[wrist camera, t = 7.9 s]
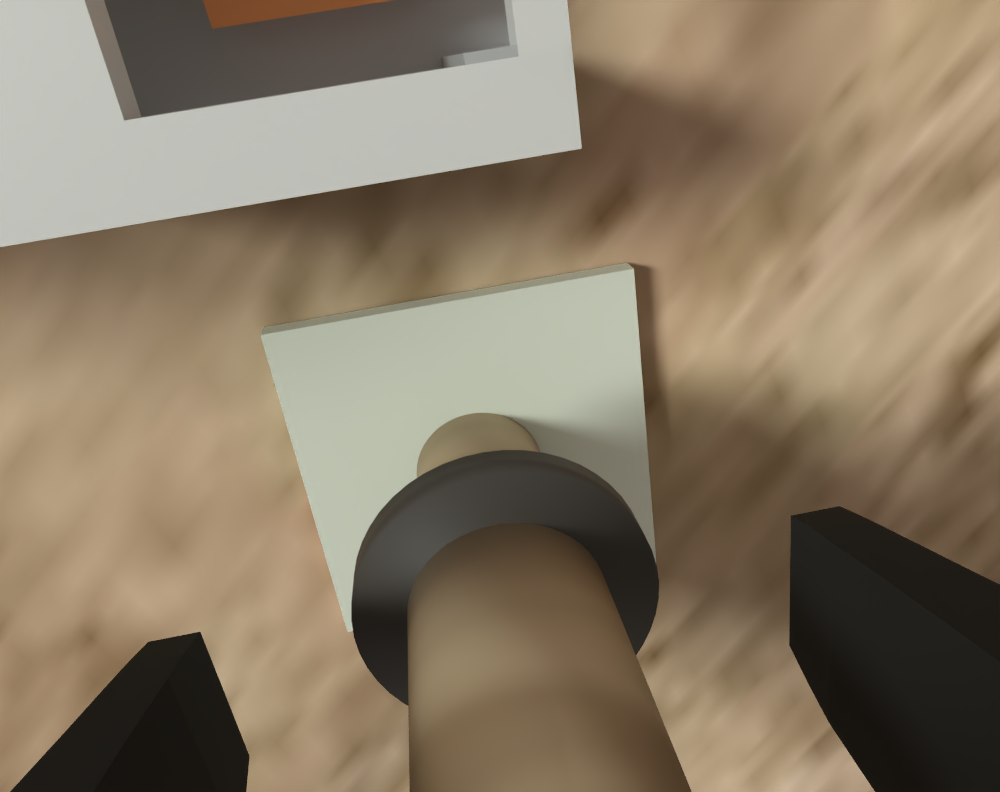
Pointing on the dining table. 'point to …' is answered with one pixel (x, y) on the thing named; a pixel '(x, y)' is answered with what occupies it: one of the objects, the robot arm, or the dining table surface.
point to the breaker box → (263, 103)
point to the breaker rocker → (270, 9)
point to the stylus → (513, 620)
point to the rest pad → (461, 392)
